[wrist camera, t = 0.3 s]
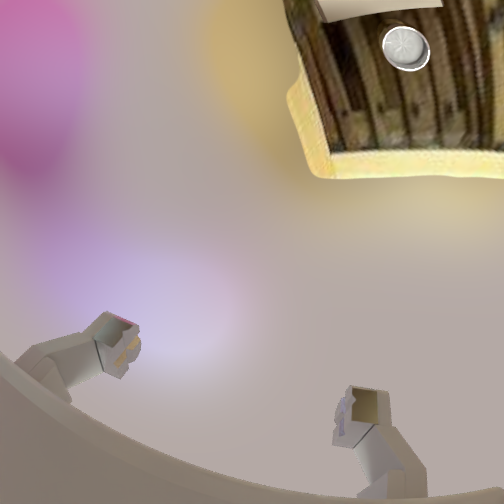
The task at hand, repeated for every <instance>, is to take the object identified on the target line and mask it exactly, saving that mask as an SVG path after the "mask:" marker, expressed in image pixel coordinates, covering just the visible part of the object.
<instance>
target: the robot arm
mask: <svg viewBox="0 0 504 504" xmlns="http://www.w3.org/2000/svg"><path fill="white" fill-rule="evenodd" d="M139 332H140V331H139V325H137V324H135V323H133V322H130V321H128V320H126V319H123V318H121V317H119V316H117V315H114V314H112V313H109V312H108V311H106V312H103V313H102V314H101V315H100V316H99V317H98V318H97V319H96V320H95V321H94V322H93V323H92V324H91V325H90V326H89V327H88V328H87V329H86V330H85V331H83V333H80V332H78V333H74V334H71V335H67V336H64V337H61V338H57V339H53V340H50V341H46V342H43V343H39V344H36V345H33V346H31V347H30V348H29V349H28V350H27V351H26V352H25V353H24V354H23V355H22V356H21V357H20V358H19V359H18V360H16V361H15V362H14V363H13V362H12V361H11V360H10V359H8V358H7V357H6V356H5V355H4V354H3V353H2V352H0V504H504V489H502V488H500V487H492V488H488V489H483V490H478V491H473V492H467V493H461V494H454V495H447V496H437V497H428V492H427V473H426V468H425V466H424V465H423V464H422V463H421V461H420V460H419V458H418V457H417V455H416V454H415V453H414V451H413V450H412V449H411V447H410V446H409V445H408V443H407V442H406V441H405V439H404V438H403V437H402V435H401V434H400V432H399V431H398V430H397V428H396V427H393V426H392V422H391V408H390V398H389V393H388V391H382V390H375V389H370V388H363V387H357V386H351V385H350V386H349V387H348V388H347V390H346V394H345V395H346V396H345V397H343V398H341V400H340V402H339V403H338V406H337V409H336V412H335V419H334V421H335V423H336V425H337V426H336V428H335V429H334V431H333V441H332V445H334V446H340V447H346V448H353V451H354V453H355V455H356V457H357V459H358V461H359V463H360V465H361V468H362V469H363V472H364V474H365V475H366V478H367V480H368V482H369V484H370V486H368V487H367V488H365V489H364V490H363V491H361V492H360V493H358V494H357V498H345V497H334V496H324V495H316V494H309V493H302V492H296V491H290V490H285V489H280V488H275V487H270V486H265V485H261V484H257V483H252V482H248V481H245V480H241V479H237V478H234V477H230V476H226V475H223V474H219V473H217V472H213V471H210V470H207V469H204V468H201V467H198V466H195V465H193V464H190V463H187V462H185V461H182V460H179V459H177V458H174V457H172V456H169V455H167V454H164V453H162V452H159V451H157V450H155V449H153V448H150V447H148V446H146V445H144V444H142V443H140V442H137V441H135V440H133V439H131V438H129V437H127V436H125V435H123V434H121V433H119V432H117V431H115V430H113V429H112V428H110V427H108V426H106V425H104V424H102V423H101V422H99V421H97V420H95V419H93V418H92V417H90V416H88V415H87V414H85V413H83V412H82V411H80V410H79V409H77V408H75V407H74V406H72V405H71V404H70V403H71V402H72V399H71V396H70V394H69V392H68V390H67V389H69V388H71V387H73V386H76V385H78V384H80V383H82V382H84V381H86V380H88V379H91V378H92V377H94V376H97V375H99V374H101V373H103V372H105V373H108V374H110V375H112V376H114V377H116V378H119V379H121V378H122V377H123V375H124V374H125V373H126V371H127V370H128V369H129V366H128V363H131V362H133V361H135V360H136V358H137V357H138V355H139V352H140V350H141V340H140V338H139V337H138V335H137V334H138V333H139Z"/></svg>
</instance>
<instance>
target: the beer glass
mask: <svg viewBox="0 0 504 504" xmlns="http://www.w3.org/2000/svg"><path fill="white" fill-rule="evenodd" d="M377 36H378V43H379V47H380V49H381V51H382V53H383V55H384V56H385V57H386V58H387V60H388V61H389V62H390V63H391V64H392V65H393V66H395V67H396V68H398V69H400V70H403V71H417V70H419V69H421V68H423V67H424V66H425V65H426V64H427V62H428V61H429V58H430V47H429V44H428V42H427V40H426V38H425V37H424V36H423V35H422V34H421V33H420V32H419V31H418V30H417V29H416V28H415V27H413V26H412V25H410V24H408V23H405V22H401V21H399V20H397V19H391V18H390V19H385V20H383V21H381V22H380V23H379V25H378V27H377Z"/></svg>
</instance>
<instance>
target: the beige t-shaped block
mask: <svg viewBox="0 0 504 504" xmlns="http://www.w3.org/2000/svg"><path fill="white" fill-rule="evenodd" d="M318 2H319V4H320V6H321V8H322V10H323V12H324V14H325V17H326V19H327V21H328V23H329V22H333V21H338V20H342V19H347V18H352V17H357V16H362V15H367V14H373V13H380V12H387V11H394V10H403V9H413V8H426V7H443V6H442V3H441V0H318Z"/></svg>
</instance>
